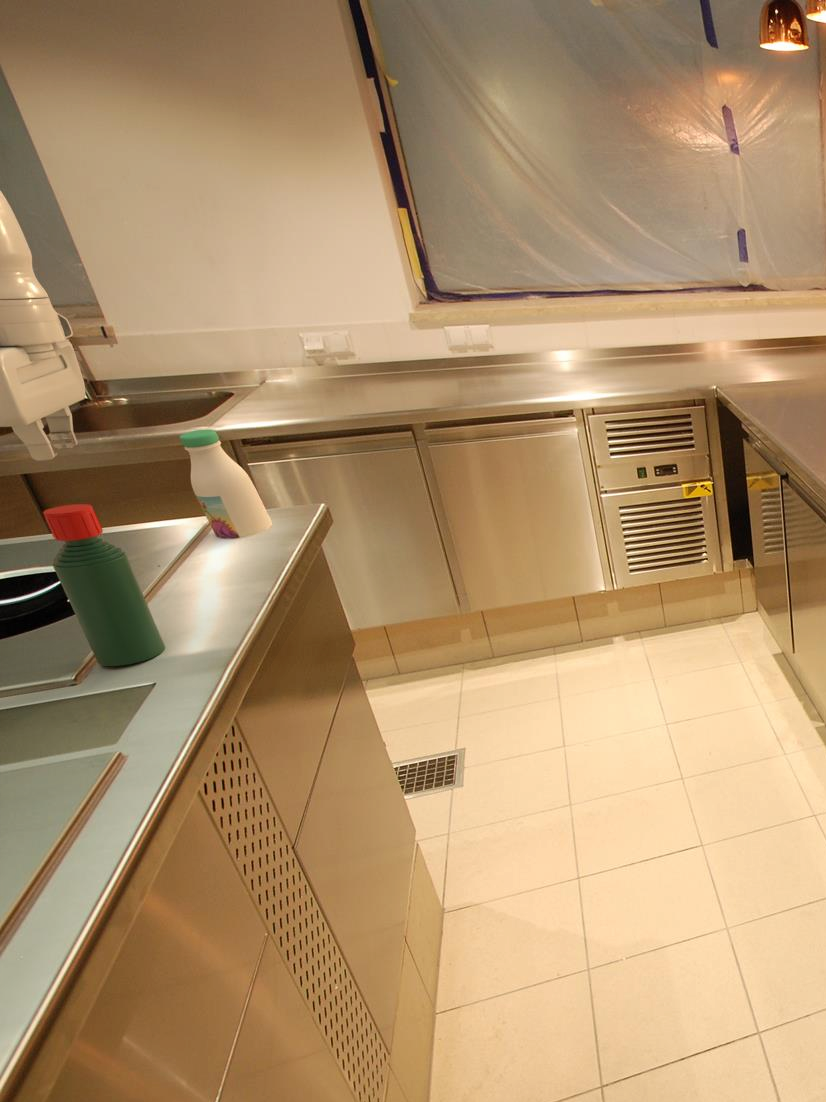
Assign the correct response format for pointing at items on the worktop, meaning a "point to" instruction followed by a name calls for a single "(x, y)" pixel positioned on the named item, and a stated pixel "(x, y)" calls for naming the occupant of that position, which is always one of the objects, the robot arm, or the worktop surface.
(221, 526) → the milk bottle
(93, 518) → the cap
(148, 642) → the bottle
